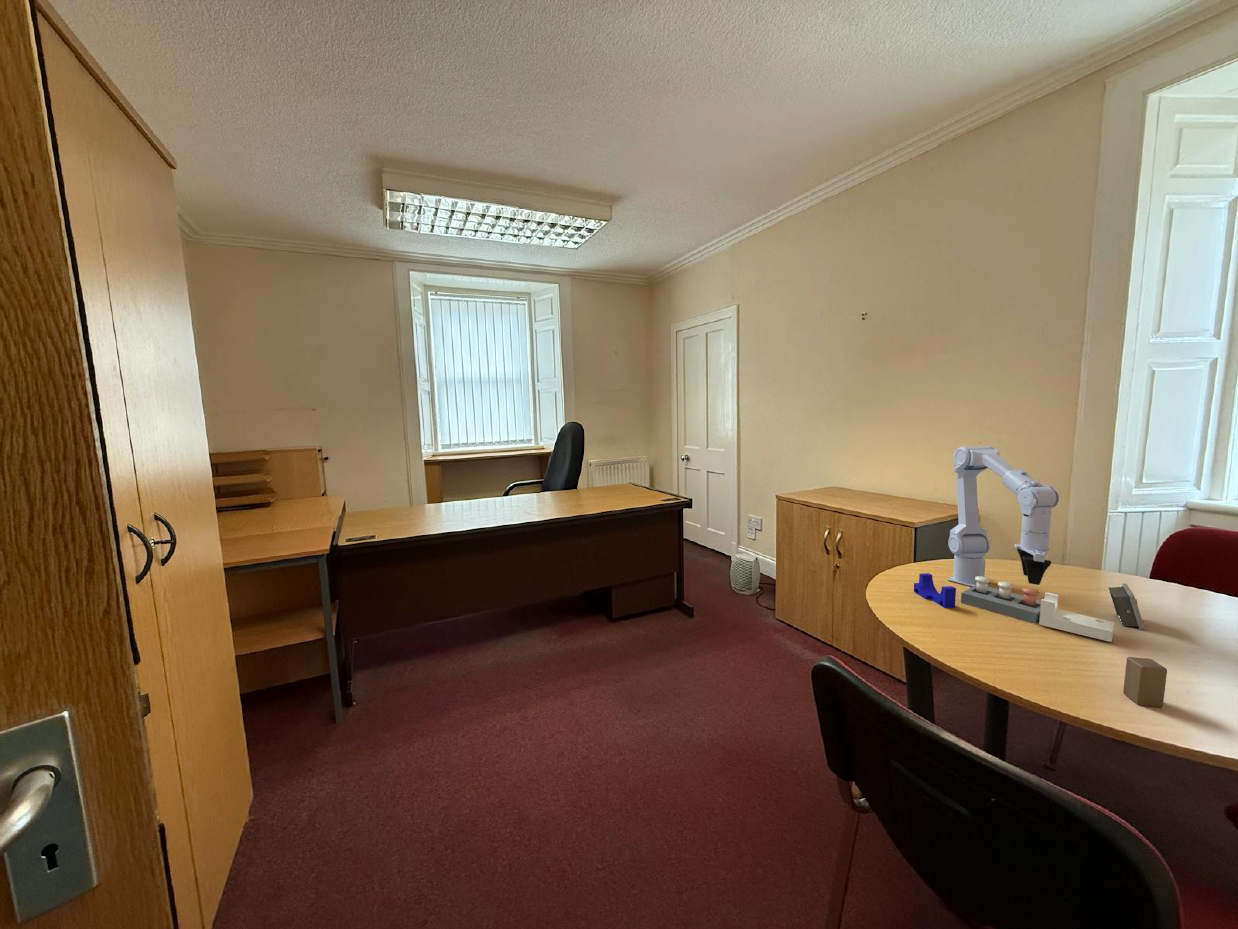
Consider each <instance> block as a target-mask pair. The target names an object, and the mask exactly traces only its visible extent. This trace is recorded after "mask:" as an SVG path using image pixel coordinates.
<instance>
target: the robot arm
mask: <svg viewBox="0 0 1238 929" xmlns="http://www.w3.org/2000/svg"><path fill="white" fill-rule="evenodd" d="M1000 453H1001V452H1000V450H998V449H997V448H996V447H995V446H993V445H987V446H959V447H958V448H957V449H956V450H955V451H954V453H953V454H952V456H953V471H954V472H953V473H955V480H956V495H957V496H956V497H957V498H956V500H957V516H958V517H957V518H958V524H957V525H956V526H954V527H953V528H952V529H950V530H949V538H948V542H947V544H948V548H949V550H950V552H951V553H952V554H954V556H953V569H952V570H953V573H952V575H953V576H950V577H948V578H947V580H948V581H950V582H954V583H958V584H961V585H965V586H969V587H973V586H975V585H977V581H976V580H975V577H976V576H982V577H986V576H985V573H986V559H985V555H986V554H988V553H989V551H990V550H991V542H990V539H989V536H988V531H987V530H986V529H985V528H983V527H982V526H980V523H979V522H980V518H979V502H978V501H979V500H978V482H977V476H978V475H979V474H980V473H981V472H984V471H986V470H987V469H988V470H990V471H992V472H993V473H995V474H996V475H998V476H999V477H1000V478H1002V484H1003V485H1004V486H1005V487H1006V488H1008V490H1010V491H1011V492H1012V493H1014V495H1016V496H1017V501H1018V503H1019V506H1020V507H1019V508H1020V510H1019V511H1020V513H1021V514H1022V516H1021V517H1022V518H1021V530H1020V542H1019V544H1018V543H1014V548H1015V549H1016V551H1017V553H1018V555H1019V558H1020V562H1021V568H1022V573H1023V575H1024V576H1026V577H1027V581H1028V584H1029V585H1035V586H1039V585H1041V583H1042V579H1043V577H1044V575H1045V572H1046V571H1047V569H1048V568H1049V567H1050V566H1051V565H1052V560H1048V559H1046V555H1047V554H1049V552H1050V548H1049V546H1050V545H1049V544H1050V533H1051V532H1050V531H1051V520H1052V509H1053V508H1054V507H1056V506H1057V505H1058V504H1059V501H1060V494H1059V492H1058V491H1057V489H1055V487H1054V486H1053V485H1045V484H1041V483H1040V482H1039V481H1038V480H1035V479H1034V478H1033V477H1032V476H1030V475H1029V474H1028V472H1027V471H1026V470H1024V469H1023V470H1022V469H1015V468H1013V467H1012V466H1011V465H1010V464H1009V463H1008V462H1007V461H1006V460H1004V459H1003V457H1001V455H1000Z"/></svg>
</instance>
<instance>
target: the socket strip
mask: <svg viewBox="0 0 1238 929" xmlns="http://www.w3.org/2000/svg"><path fill="white" fill-rule="evenodd" d="M1023 598H1024V594H1018V593H1015V592H1011V598H1010V599H1006V598H1001V597H999V588H995V587H990V586H988V589H987V592H986V593H984V592H979V591H977V590H976V585H975V586H973V587H972V586H970V588H968V589H965V591H962V592H961V595H960V603H961V604H965V605H968V606H972V607H976V608H978V609H982V610H986V611H988V612H992V613H996V614H998V615H1002V616H1006V617H1011V618H1013V619H1016V620H1020V621H1023V622H1027V623H1031V624H1034V625H1036V624H1038V623H1039V621H1040V609H1041V599H1039V598H1036V605H1028V604H1025V603H1023Z"/></svg>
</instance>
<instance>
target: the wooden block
mask: <svg viewBox="0 0 1238 929" xmlns="http://www.w3.org/2000/svg"><path fill="white" fill-rule="evenodd" d="M1167 674H1168V669H1167V668H1166V667H1165V666H1163V665H1162V664H1160V663H1159V662H1157V661H1155V660H1154V659H1152V658H1148V657H1147V658H1145V657H1137V656H1136V657H1133V656H1128V657H1126V663H1125V671H1124V681H1123V690H1122V692H1123V695H1125V696H1126V697H1128V699H1130V700H1131V701H1133V703H1135V704H1136V705H1139V706H1146V707H1156V708H1163V706H1164V701H1165V694H1166V693H1165V691H1166V684H1167V683H1166V682H1167V677H1168V676H1167Z"/></svg>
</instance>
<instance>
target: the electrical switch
mask: <svg viewBox="0 0 1238 929" xmlns="http://www.w3.org/2000/svg"><path fill="white" fill-rule="evenodd" d="M1121 584H1122V586H1115V587H1113V586H1112V587H1108V590H1109V594H1110V598H1111V599H1112V603H1113V607H1114V610H1115V614H1116V616H1117V617H1118V616H1120V619H1121V621H1120V623H1121V622H1122V623H1121V626H1122V627H1137V628H1138V627H1139V628H1138V629H1139V630H1145V625H1144V622H1143V619H1142V616H1141V612H1140V608H1139V606H1138V605H1139V604H1138V599H1136V597H1135V595H1134V593H1133V591H1132V590H1131V588H1130V586H1129V585H1128V584H1127V583H1121ZM1120 619H1119V620H1120Z"/></svg>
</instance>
